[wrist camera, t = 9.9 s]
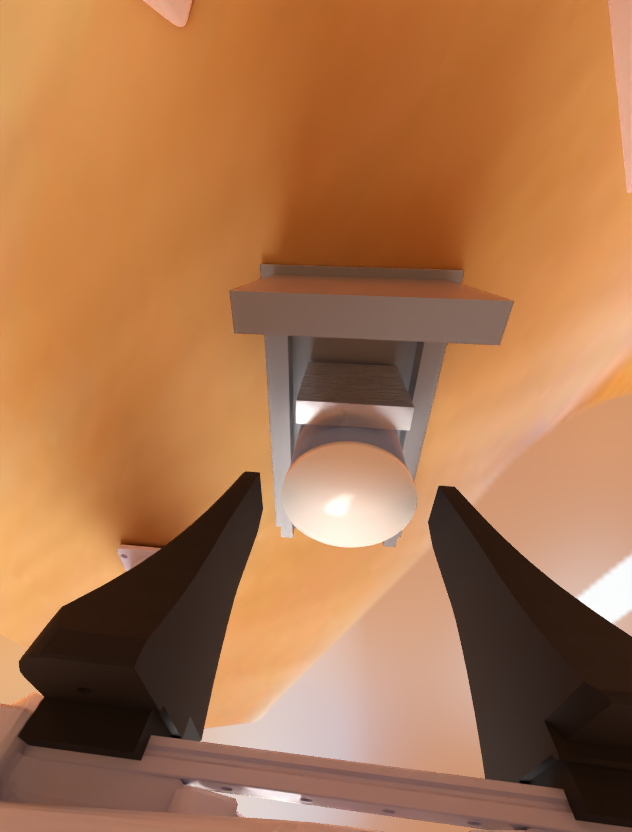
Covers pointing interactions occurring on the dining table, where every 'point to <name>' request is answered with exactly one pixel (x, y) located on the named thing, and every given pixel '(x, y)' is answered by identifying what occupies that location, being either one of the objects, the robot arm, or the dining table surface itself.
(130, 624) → the robot arm
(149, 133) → the dining table surface
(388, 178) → the dining table surface
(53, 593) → the dining table surface
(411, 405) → the plate
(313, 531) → the jar
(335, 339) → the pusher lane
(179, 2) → the medicine bottle
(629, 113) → the pale pink cube
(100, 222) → the dining table surface
